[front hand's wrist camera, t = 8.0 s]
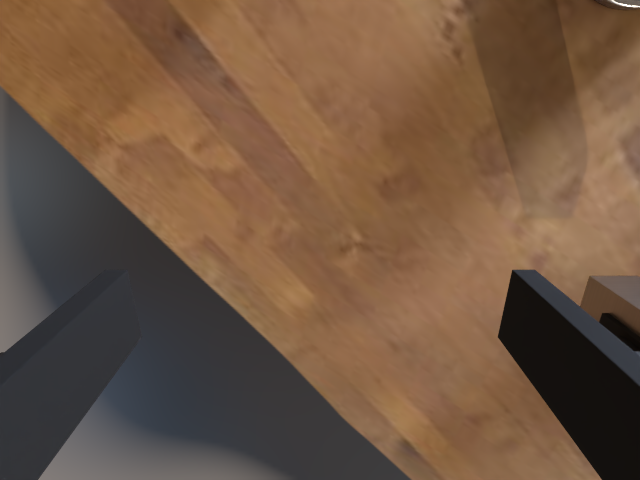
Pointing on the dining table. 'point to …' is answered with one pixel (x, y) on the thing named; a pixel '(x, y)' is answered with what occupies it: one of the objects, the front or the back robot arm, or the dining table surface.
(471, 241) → the dining table surface
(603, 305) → the grey metallic rectangular block
